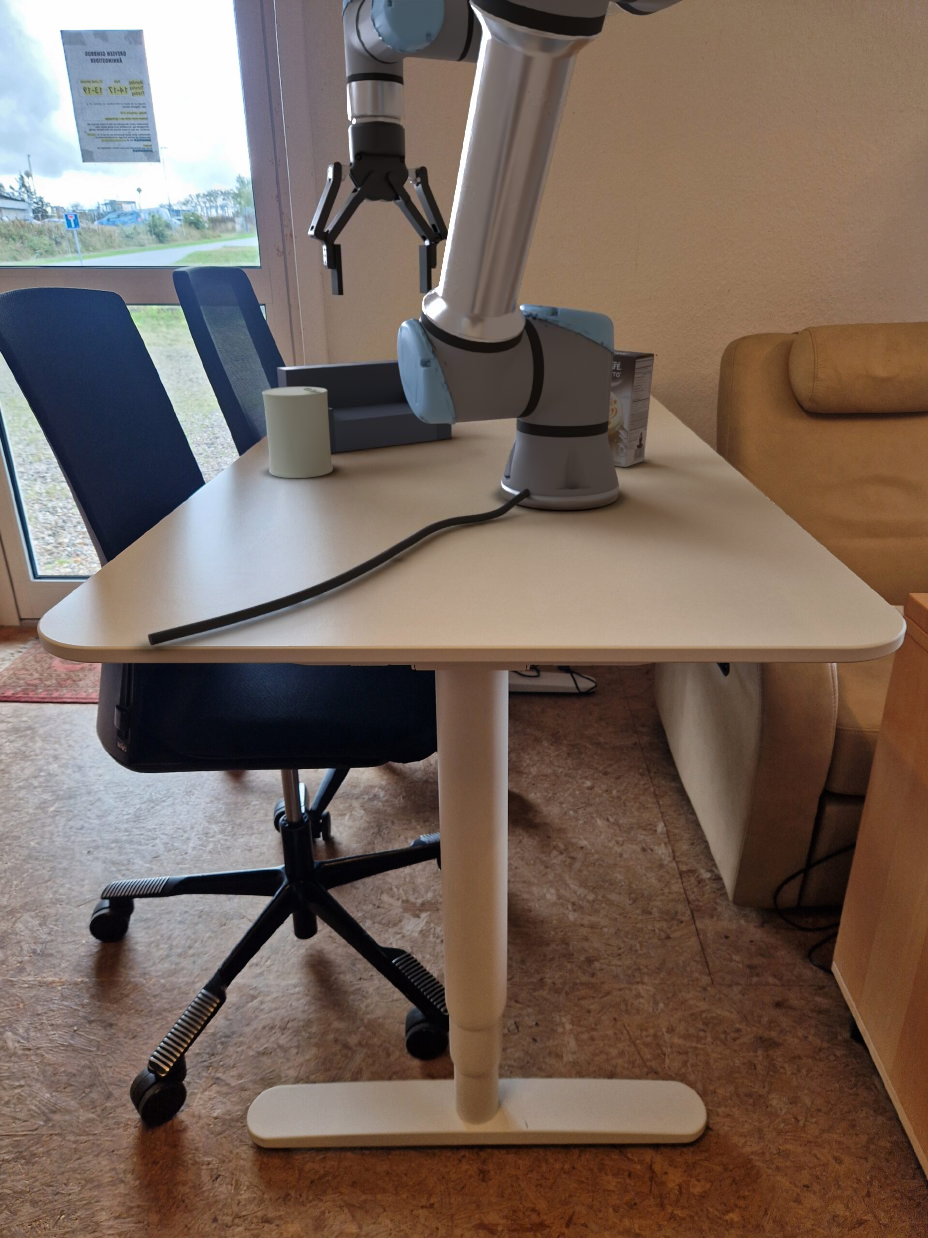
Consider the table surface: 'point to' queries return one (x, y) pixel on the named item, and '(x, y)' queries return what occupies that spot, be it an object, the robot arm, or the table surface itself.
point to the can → (298, 431)
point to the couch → (365, 404)
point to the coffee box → (629, 406)
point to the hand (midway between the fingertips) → (382, 294)
